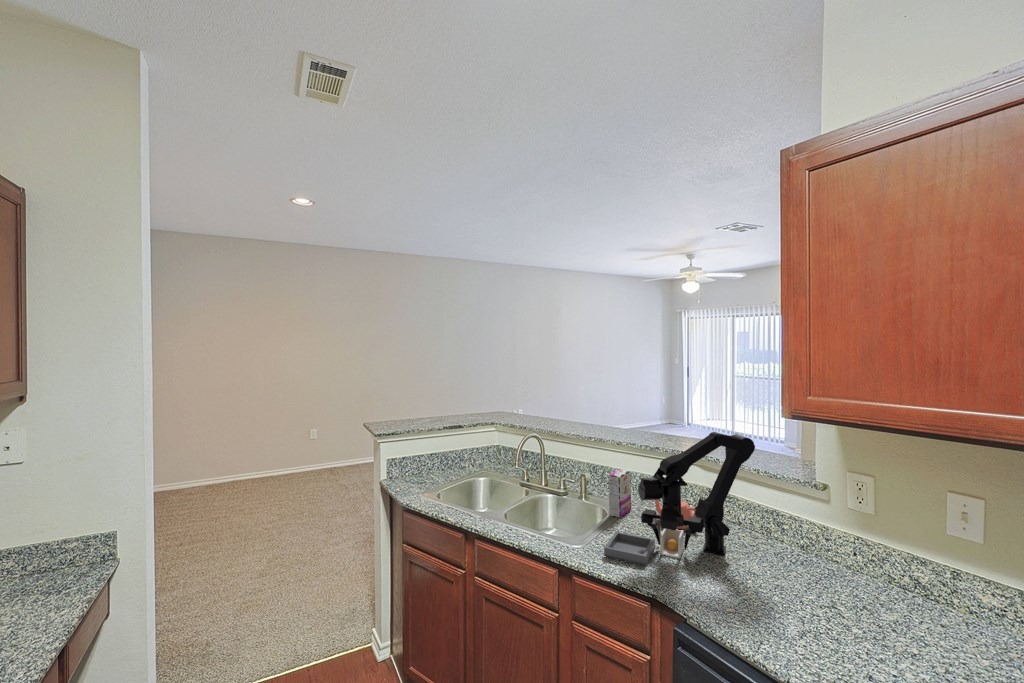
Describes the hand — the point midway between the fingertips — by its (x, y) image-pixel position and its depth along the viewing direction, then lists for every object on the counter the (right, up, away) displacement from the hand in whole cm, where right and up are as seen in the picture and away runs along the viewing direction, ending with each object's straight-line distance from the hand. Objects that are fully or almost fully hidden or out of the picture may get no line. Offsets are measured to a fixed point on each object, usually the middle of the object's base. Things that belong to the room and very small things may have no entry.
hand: (672, 546), depth 144 cm
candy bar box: (-9, -3, +34) cm, 35 cm away
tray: (-14, -2, 0) cm, 14 cm away
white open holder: (0, -2, 0) cm, 2 cm away
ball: (0, +1, 0) cm, 1 cm away
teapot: (+9, -2, +23) cm, 25 cm away
